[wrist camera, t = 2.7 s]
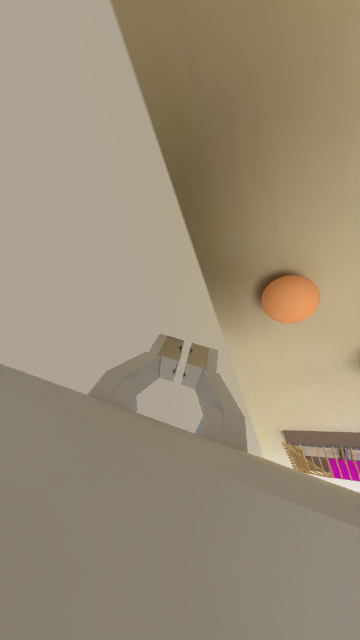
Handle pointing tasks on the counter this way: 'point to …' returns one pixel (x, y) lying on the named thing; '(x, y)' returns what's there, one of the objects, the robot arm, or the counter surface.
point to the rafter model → (328, 465)
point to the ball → (290, 299)
